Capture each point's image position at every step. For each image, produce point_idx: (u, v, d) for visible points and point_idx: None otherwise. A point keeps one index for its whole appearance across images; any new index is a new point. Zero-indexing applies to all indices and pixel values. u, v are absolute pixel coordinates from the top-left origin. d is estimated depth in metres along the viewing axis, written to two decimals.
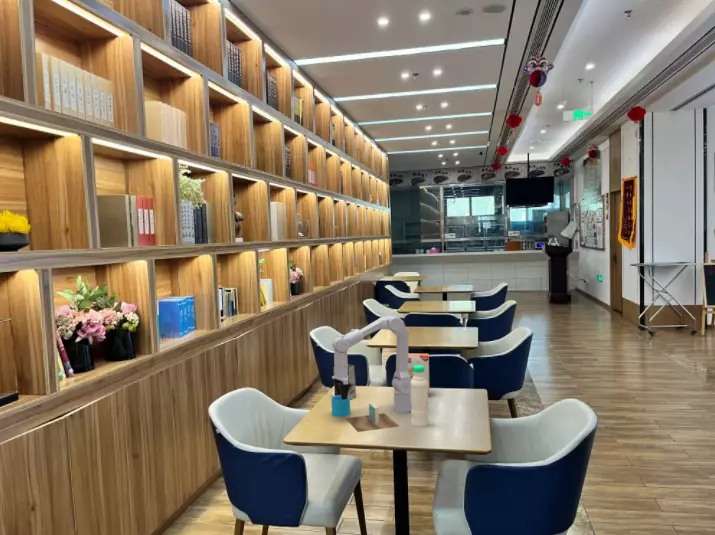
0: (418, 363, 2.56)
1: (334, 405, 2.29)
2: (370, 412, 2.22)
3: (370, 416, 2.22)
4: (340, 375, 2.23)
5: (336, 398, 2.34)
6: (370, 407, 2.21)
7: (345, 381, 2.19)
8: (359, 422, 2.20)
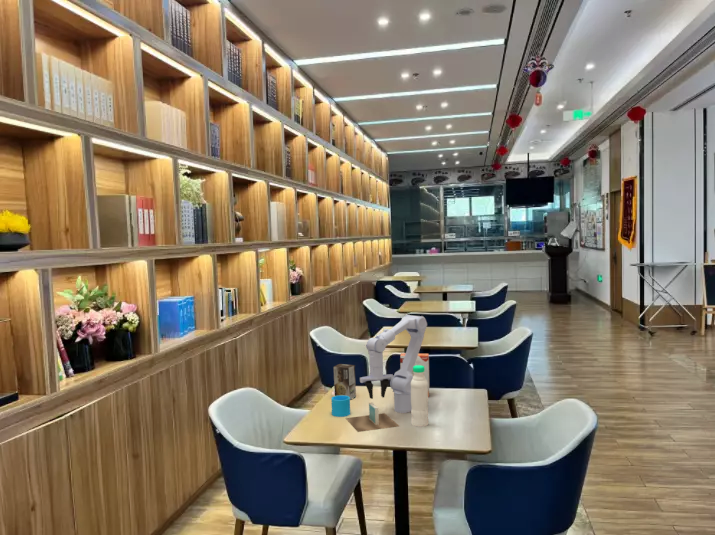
0: (418, 363, 2.56)
1: (334, 405, 2.29)
2: (370, 412, 2.22)
3: (370, 416, 2.22)
4: None
5: (336, 398, 2.34)
6: (370, 407, 2.21)
7: (360, 379, 2.22)
8: (359, 422, 2.20)
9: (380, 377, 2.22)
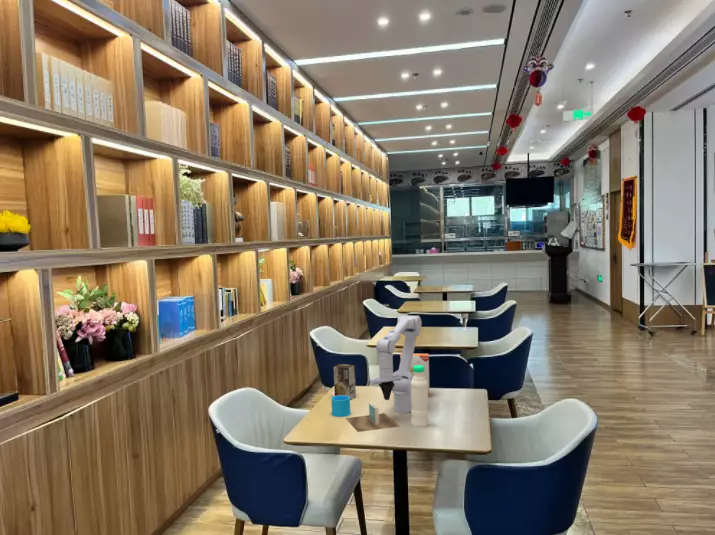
0: (418, 363, 2.56)
1: (334, 405, 2.29)
2: (370, 412, 2.22)
3: (370, 416, 2.22)
4: None
5: (336, 398, 2.34)
6: (370, 407, 2.21)
7: (371, 381, 2.18)
8: (359, 422, 2.20)
9: (391, 378, 2.19)
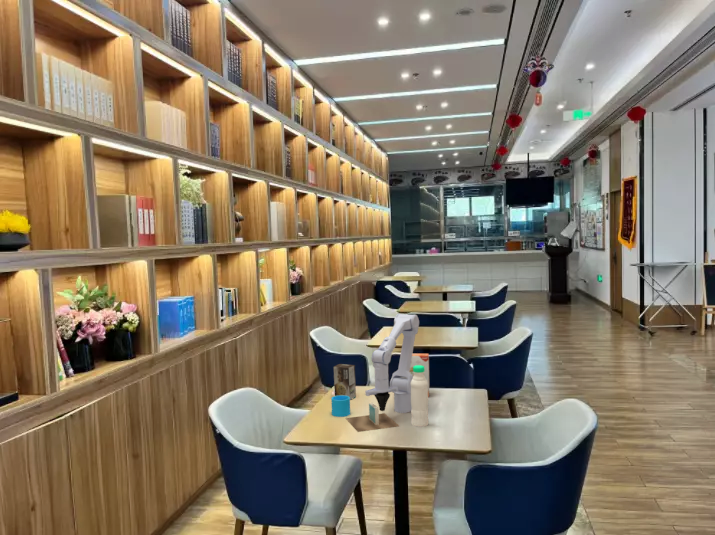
0: (418, 363, 2.56)
1: (334, 405, 2.29)
2: (370, 412, 2.22)
3: (370, 416, 2.22)
4: (375, 386, 2.21)
5: (336, 398, 2.34)
6: (370, 407, 2.21)
7: (366, 392, 2.18)
8: (359, 422, 2.20)
9: (386, 389, 2.19)
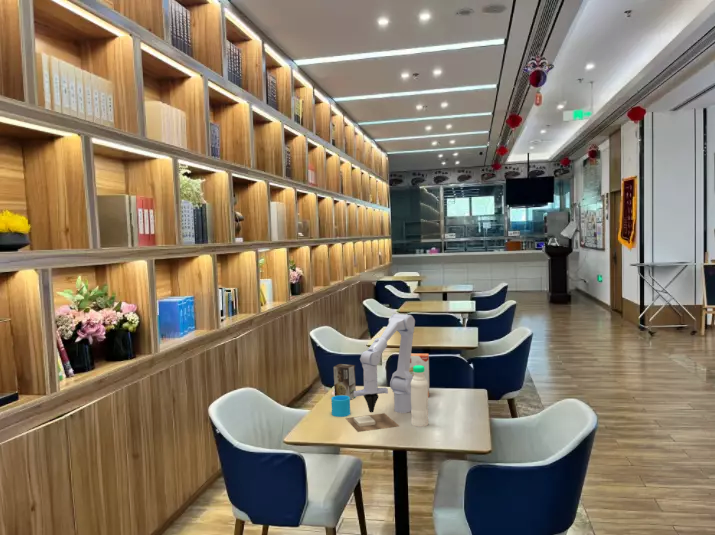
0: (418, 363, 2.56)
1: (334, 405, 2.29)
2: None
3: None
4: None
5: (336, 398, 2.34)
6: None
7: (354, 393, 2.17)
8: None
9: (374, 391, 2.17)
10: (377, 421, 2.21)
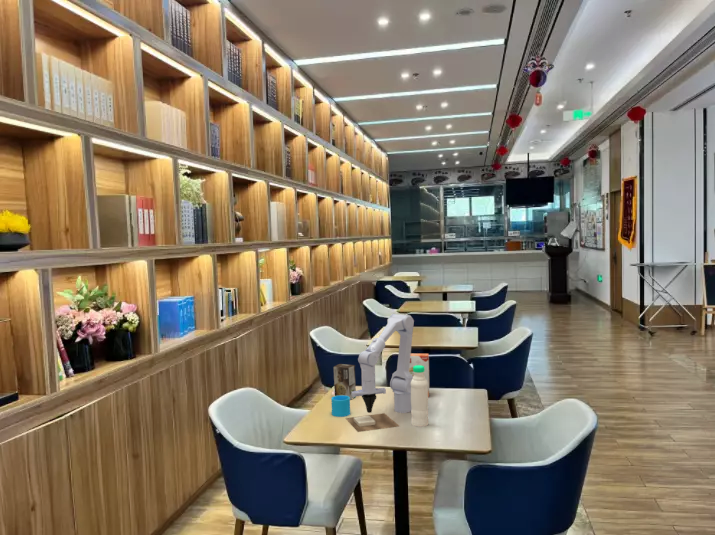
0: (418, 363, 2.56)
1: (334, 405, 2.29)
2: None
3: None
4: None
5: (336, 398, 2.34)
6: None
7: (352, 393, 2.17)
8: None
9: (372, 391, 2.17)
10: (377, 421, 2.21)
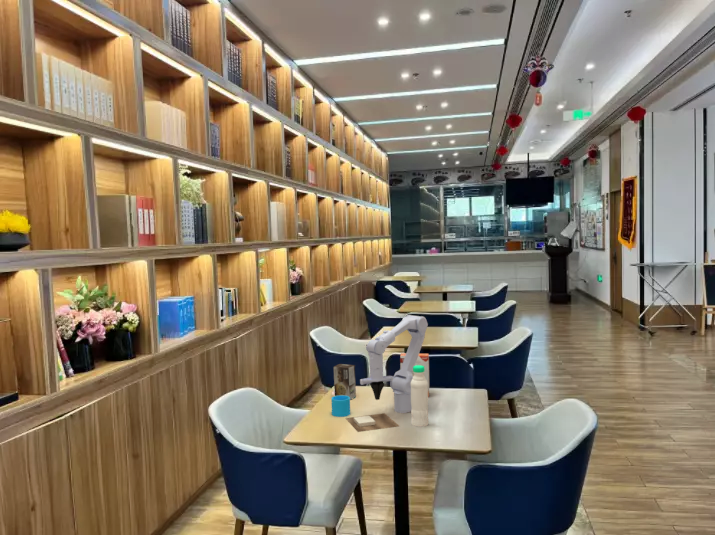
0: (418, 363, 2.56)
1: (334, 405, 2.29)
2: None
3: None
4: None
5: (336, 398, 2.34)
6: None
7: (360, 381, 2.23)
8: None
9: (380, 379, 2.23)
10: (377, 421, 2.21)
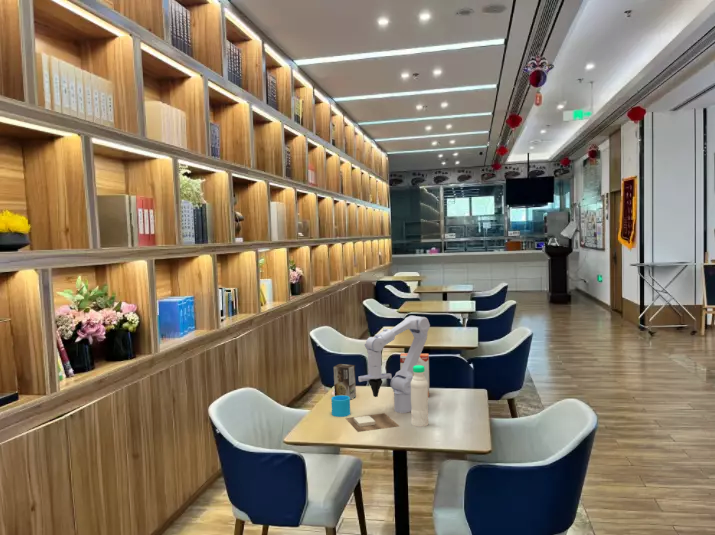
0: (418, 363, 2.56)
1: (334, 405, 2.29)
2: None
3: None
4: (368, 372, 2.26)
5: (336, 398, 2.34)
6: None
7: (358, 378, 2.24)
8: None
9: (378, 376, 2.24)
10: (377, 421, 2.21)
